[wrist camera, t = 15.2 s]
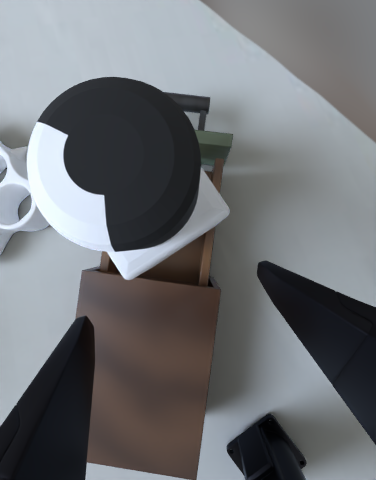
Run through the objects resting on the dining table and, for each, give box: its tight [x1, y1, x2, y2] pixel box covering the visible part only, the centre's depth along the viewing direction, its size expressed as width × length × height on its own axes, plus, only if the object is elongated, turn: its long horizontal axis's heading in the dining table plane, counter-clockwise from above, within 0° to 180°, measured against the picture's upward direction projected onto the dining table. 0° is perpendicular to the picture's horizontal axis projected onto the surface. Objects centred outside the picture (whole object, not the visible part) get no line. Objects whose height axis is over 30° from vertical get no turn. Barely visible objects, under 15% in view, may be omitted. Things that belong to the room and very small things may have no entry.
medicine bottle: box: [27, 77, 230, 280], centre depth 12 cm, size 7×7×12 cm
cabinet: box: [75, 266, 221, 480], centre depth 20 cm, size 16×12×6 cm
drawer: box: [100, 92, 233, 286], centre depth 20 cm, size 20×11×5 cm, turn 172°
